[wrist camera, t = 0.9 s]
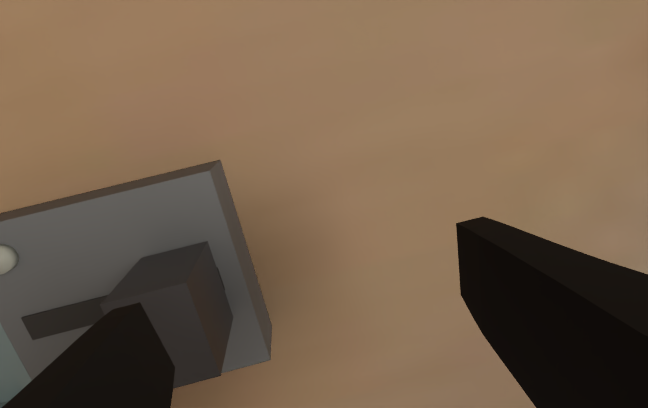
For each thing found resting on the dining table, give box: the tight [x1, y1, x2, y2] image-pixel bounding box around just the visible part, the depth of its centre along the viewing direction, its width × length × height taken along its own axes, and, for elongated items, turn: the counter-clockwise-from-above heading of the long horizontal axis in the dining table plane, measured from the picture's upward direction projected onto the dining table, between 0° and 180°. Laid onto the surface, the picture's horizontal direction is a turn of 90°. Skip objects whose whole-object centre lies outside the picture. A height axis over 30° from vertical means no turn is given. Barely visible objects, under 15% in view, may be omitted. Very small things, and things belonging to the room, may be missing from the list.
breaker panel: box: [0, 160, 272, 380], centre depth 19 cm, size 10×11×4 cm
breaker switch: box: [100, 241, 233, 388], centre depth 16 cm, size 4×3×4 cm
